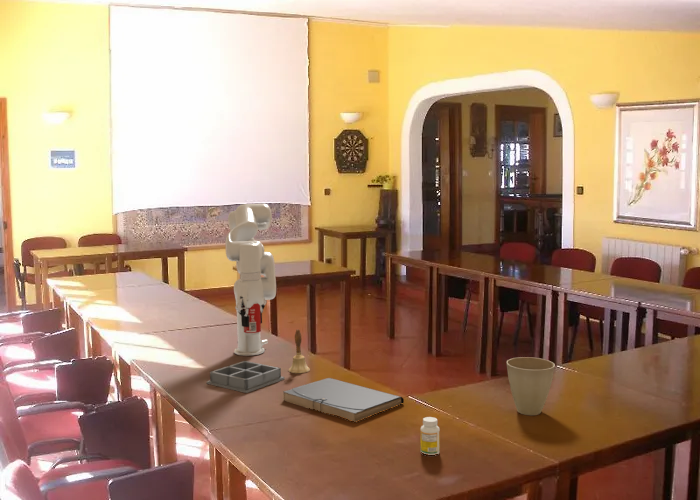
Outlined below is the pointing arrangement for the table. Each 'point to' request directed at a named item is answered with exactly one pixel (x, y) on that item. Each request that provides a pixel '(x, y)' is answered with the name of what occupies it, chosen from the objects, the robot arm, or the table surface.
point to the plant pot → (530, 383)
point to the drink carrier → (245, 376)
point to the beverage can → (253, 320)
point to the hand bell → (298, 357)
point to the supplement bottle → (430, 436)
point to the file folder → (341, 398)
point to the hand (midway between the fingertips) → (251, 324)
